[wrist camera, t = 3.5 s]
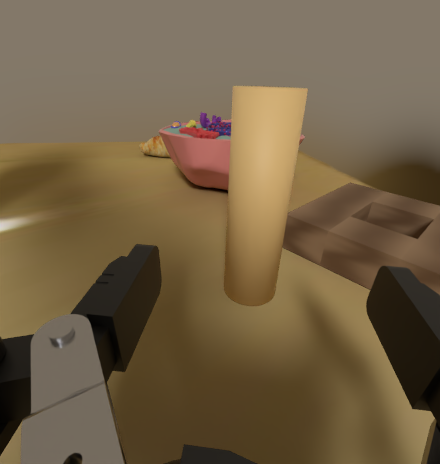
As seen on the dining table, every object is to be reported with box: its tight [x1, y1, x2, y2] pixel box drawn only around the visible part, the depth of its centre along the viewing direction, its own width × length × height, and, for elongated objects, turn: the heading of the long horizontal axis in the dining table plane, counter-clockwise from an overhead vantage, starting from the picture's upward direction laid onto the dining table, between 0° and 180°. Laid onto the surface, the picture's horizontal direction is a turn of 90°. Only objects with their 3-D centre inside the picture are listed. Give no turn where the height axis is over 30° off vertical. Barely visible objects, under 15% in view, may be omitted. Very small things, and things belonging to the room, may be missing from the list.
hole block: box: [282, 183, 440, 295], centre depth 26 cm, size 14×14×4 cm
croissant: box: [139, 121, 198, 158], centre depth 58 cm, size 21×10×8 cm, turn 112°
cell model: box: [159, 113, 305, 190], centre depth 40 cm, size 17×20×11 cm
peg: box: [224, 86, 308, 306], centre depth 18 cm, size 4×4×14 cm
